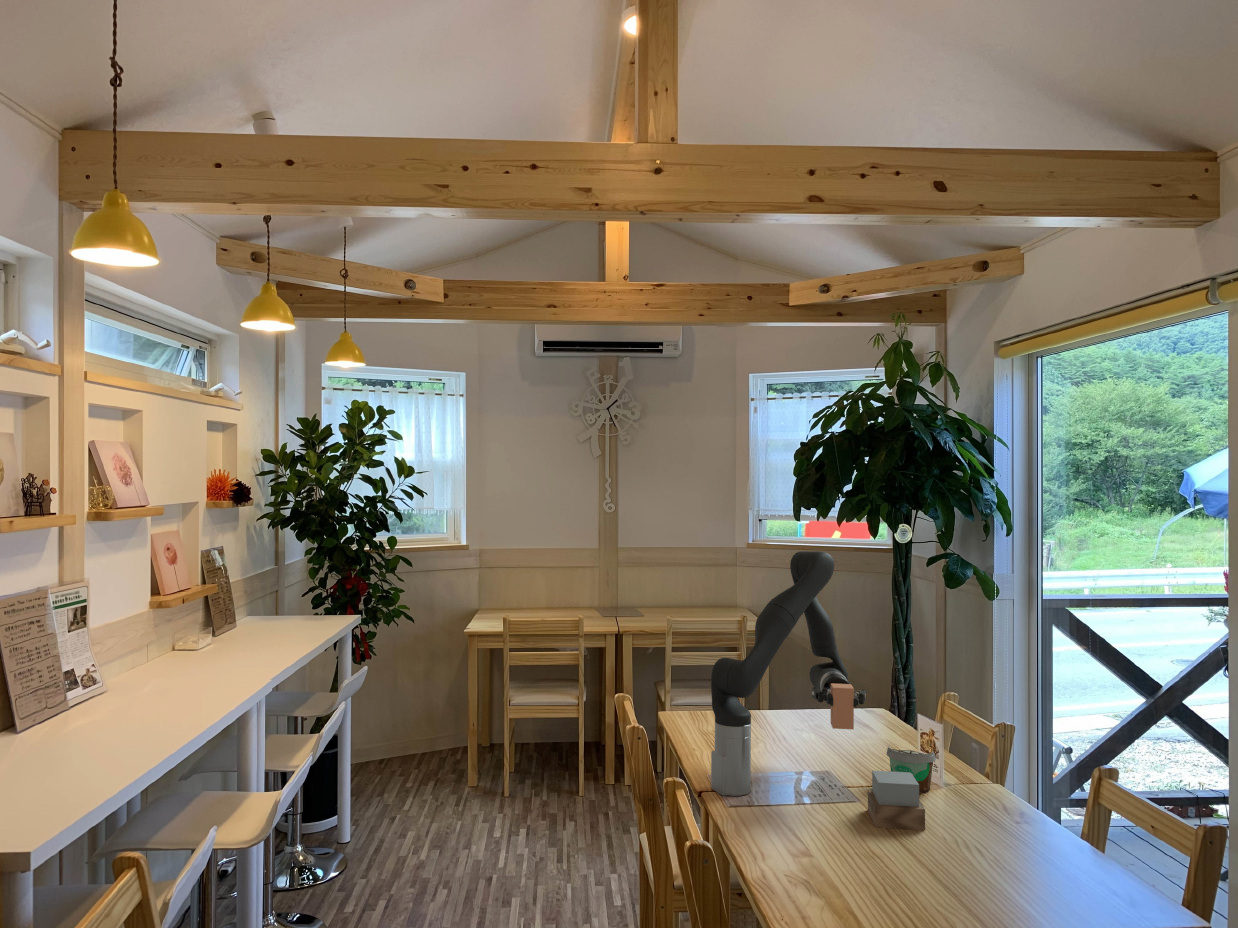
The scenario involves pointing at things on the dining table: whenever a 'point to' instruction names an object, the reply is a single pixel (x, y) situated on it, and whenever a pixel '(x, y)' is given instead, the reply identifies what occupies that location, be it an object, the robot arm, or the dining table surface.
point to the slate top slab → (895, 788)
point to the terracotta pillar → (842, 706)
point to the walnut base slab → (896, 815)
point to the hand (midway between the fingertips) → (843, 702)
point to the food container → (913, 765)
